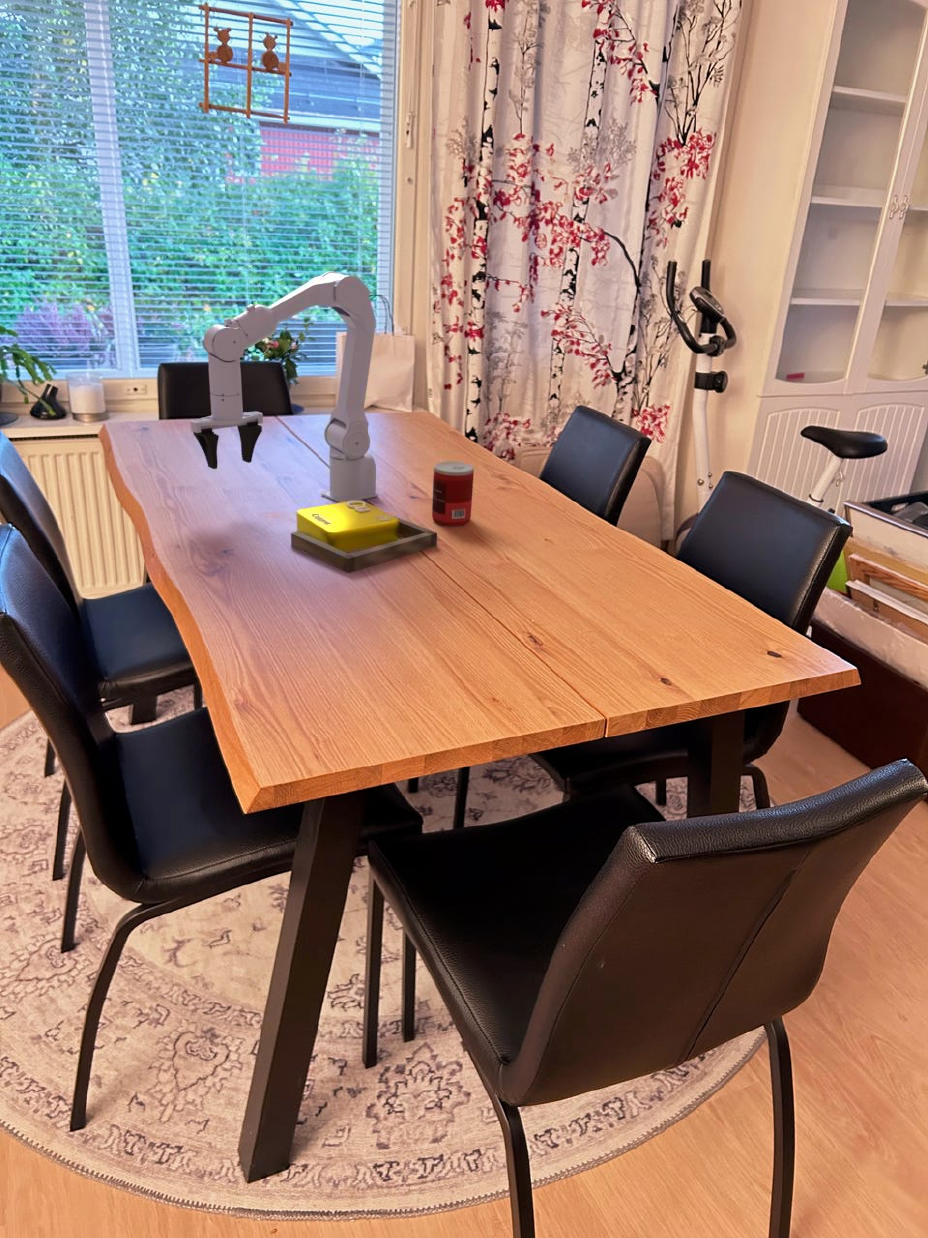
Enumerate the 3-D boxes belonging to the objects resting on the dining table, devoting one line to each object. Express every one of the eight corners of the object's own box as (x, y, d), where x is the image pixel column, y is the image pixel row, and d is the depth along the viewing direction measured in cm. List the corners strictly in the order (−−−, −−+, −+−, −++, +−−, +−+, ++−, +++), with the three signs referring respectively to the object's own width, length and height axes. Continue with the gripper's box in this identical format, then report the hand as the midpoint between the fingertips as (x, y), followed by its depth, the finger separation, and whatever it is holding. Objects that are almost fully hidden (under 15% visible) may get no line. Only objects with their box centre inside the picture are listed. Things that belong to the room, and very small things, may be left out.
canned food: (476, 518, 181) (480, 465, 176) (460, 529, 174) (463, 474, 169) (442, 511, 183) (445, 458, 179) (425, 522, 177) (427, 467, 172)
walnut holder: (379, 522, 175) (379, 510, 174) (436, 545, 165) (437, 532, 164) (291, 546, 161) (290, 532, 160) (348, 572, 151) (348, 558, 150)
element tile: (292, 531, 169) (292, 507, 167) (361, 519, 178) (361, 496, 176) (332, 557, 158) (332, 531, 156) (403, 542, 167) (403, 518, 165)
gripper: (246, 385, 174) (250, 454, 180) (179, 393, 164) (185, 465, 170) (268, 392, 169) (270, 462, 175) (200, 400, 160) (205, 474, 166)
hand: (230, 464), depth 172 cm, fingers open, 7 cm apart
